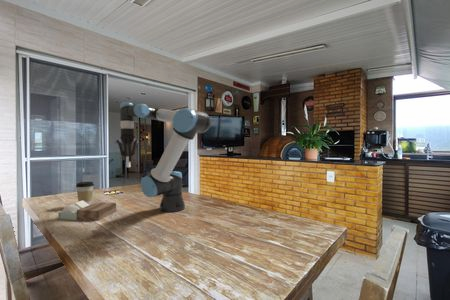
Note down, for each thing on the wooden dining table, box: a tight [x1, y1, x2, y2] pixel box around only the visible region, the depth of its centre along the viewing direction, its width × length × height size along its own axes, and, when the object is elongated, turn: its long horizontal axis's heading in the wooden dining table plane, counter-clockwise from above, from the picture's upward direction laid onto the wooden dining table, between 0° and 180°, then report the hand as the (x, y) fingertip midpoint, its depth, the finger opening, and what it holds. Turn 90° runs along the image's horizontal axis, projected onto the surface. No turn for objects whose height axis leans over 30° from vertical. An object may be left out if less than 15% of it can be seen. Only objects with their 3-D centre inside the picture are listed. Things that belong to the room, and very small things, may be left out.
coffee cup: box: [75, 181, 95, 205], centre depth 145 cm, size 10×10×15 cm
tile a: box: [74, 200, 89, 209], centre depth 132 cm, size 6×6×3 cm
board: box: [76, 202, 117, 221], centre depth 127 cm, size 12×16×5 cm
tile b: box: [61, 203, 80, 213], centre depth 124 cm, size 6×6×3 cm
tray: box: [57, 211, 77, 221], centre depth 128 cm, size 10×17×4 cm, turn 175°
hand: (128, 167), depth 139 cm, fingers closed
